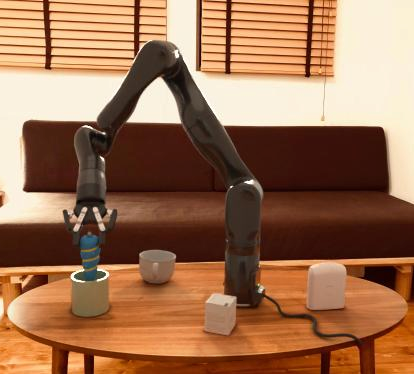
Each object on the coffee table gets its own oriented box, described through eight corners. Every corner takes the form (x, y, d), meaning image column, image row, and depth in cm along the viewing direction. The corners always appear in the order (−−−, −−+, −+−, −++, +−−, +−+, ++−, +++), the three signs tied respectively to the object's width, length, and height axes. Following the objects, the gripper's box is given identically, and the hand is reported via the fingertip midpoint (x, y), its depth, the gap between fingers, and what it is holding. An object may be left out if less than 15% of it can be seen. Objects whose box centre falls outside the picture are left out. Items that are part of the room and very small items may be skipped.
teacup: (145, 272, 145) (145, 247, 144) (179, 275, 144) (179, 250, 142) (130, 289, 131) (130, 262, 130) (168, 292, 130) (168, 265, 129)
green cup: (115, 304, 121) (115, 272, 120) (95, 319, 113) (95, 284, 111) (85, 299, 124) (85, 266, 122) (63, 312, 115) (62, 278, 114)
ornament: (94, 292, 114) (95, 233, 112) (74, 289, 115) (75, 231, 113) (103, 284, 119) (104, 228, 117) (84, 282, 120) (85, 226, 118)
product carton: (212, 320, 114) (213, 292, 113) (235, 324, 112) (237, 296, 111) (203, 331, 108) (204, 302, 107) (228, 336, 106) (229, 306, 105)
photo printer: (309, 311, 121) (312, 266, 119) (303, 304, 125) (306, 260, 123) (346, 309, 123) (350, 265, 120) (339, 303, 127) (343, 259, 125)
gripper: (61, 181, 119) (56, 240, 109) (118, 181, 121) (118, 239, 112) (64, 197, 125) (60, 255, 115) (119, 197, 128) (119, 253, 118)
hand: (89, 246), depth 114 cm, fingers closed on ornament, 5 cm apart
